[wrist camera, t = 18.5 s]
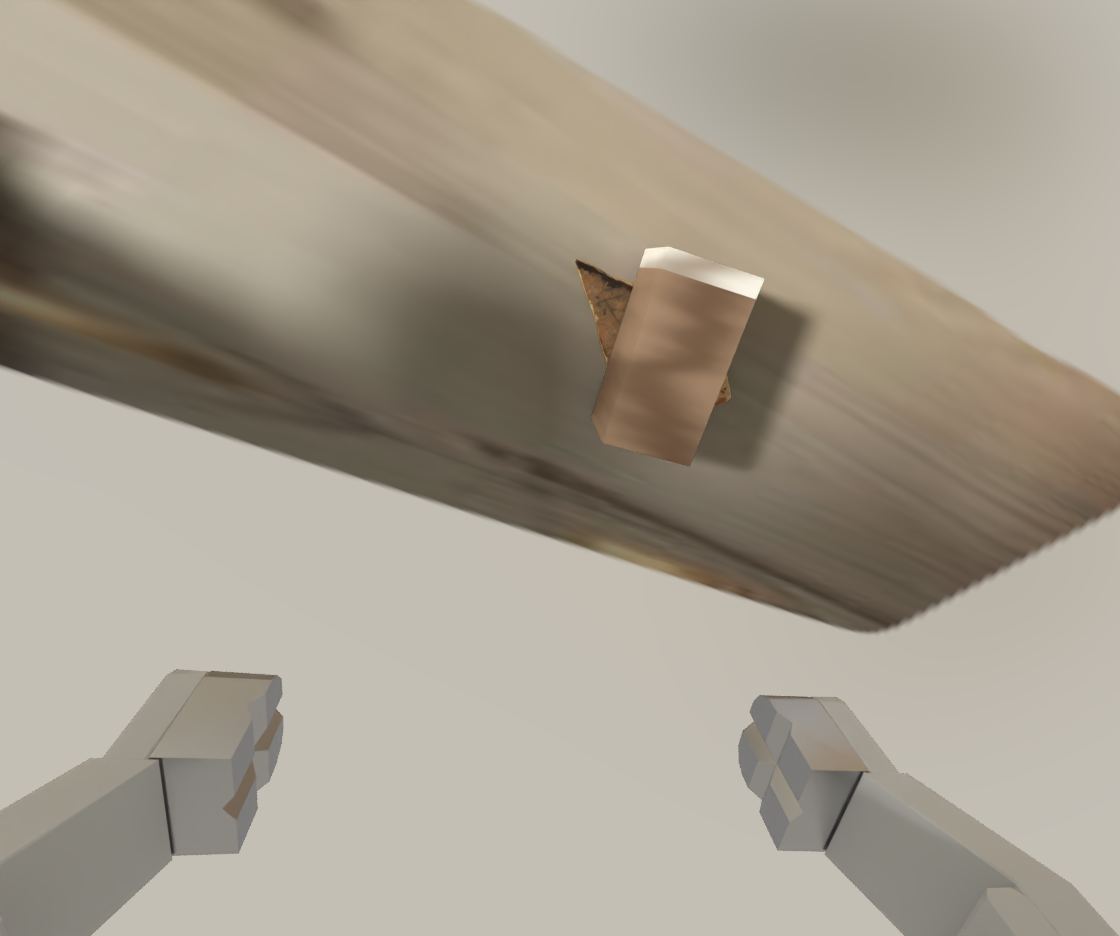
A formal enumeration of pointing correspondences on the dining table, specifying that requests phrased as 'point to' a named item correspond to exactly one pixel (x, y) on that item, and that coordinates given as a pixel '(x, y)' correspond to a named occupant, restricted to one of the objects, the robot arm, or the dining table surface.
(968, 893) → the robot arm
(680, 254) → the wooden block
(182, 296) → the dining table surface
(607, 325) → the shard
